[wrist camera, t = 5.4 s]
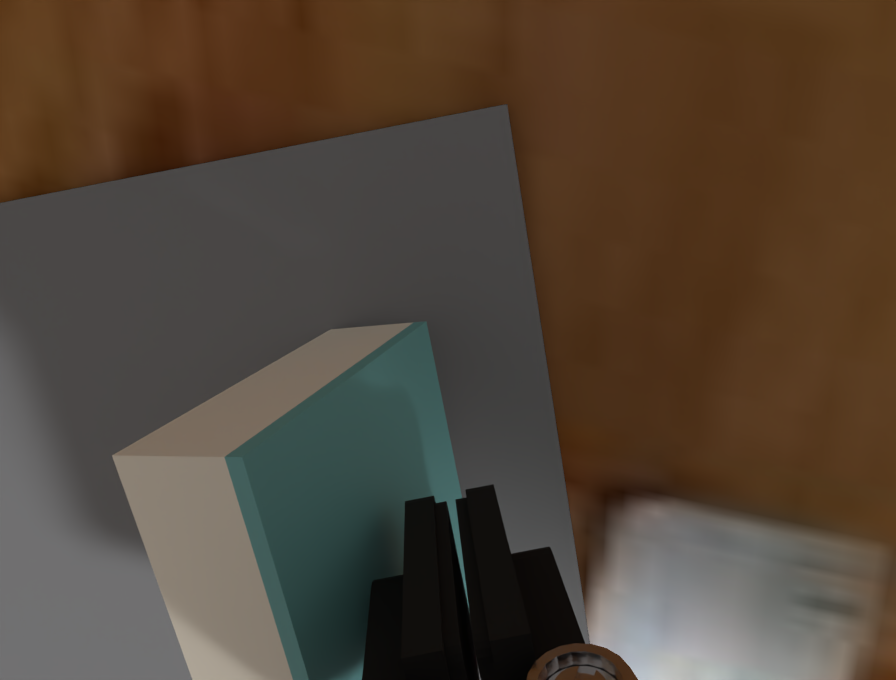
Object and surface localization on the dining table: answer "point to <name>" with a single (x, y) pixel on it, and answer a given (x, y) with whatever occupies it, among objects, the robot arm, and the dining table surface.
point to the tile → (293, 502)
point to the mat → (249, 352)
